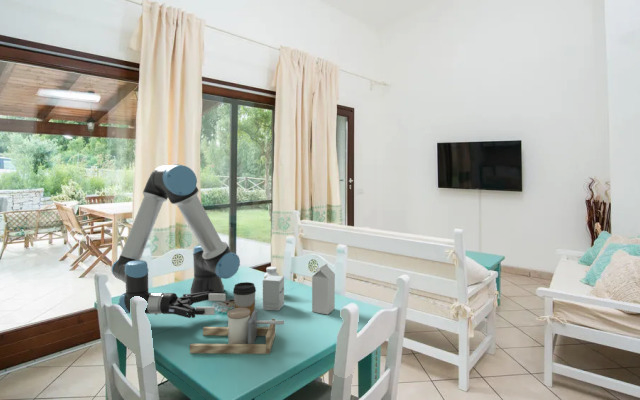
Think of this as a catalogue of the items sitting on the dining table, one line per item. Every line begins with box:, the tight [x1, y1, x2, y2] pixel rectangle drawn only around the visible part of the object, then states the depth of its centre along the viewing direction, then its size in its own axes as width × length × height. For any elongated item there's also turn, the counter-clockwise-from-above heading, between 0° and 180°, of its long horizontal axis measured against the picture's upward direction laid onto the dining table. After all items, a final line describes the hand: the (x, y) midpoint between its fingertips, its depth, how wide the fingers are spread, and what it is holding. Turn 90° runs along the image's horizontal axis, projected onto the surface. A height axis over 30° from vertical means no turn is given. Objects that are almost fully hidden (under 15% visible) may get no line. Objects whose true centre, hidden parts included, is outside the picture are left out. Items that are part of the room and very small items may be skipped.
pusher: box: [248, 309, 285, 344], centre depth 116 cm, size 11×10×9 cm
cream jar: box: [226, 307, 250, 344], centre depth 116 cm, size 7×7×11 cm
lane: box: [189, 318, 276, 355], centre depth 117 cm, size 25×13×6 cm, turn 90°
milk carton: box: [311, 263, 336, 315], centre depth 144 cm, size 7×7×19 cm
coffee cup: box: [232, 281, 257, 317], centre depth 131 cm, size 8×8×15 cm
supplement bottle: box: [263, 266, 280, 280], centre depth 163 cm, size 7×7×13 cm
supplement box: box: [262, 275, 285, 312], centre depth 148 cm, size 7×7×13 cm
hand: (220, 303), depth 130 cm, fingers open, 13 cm apart
